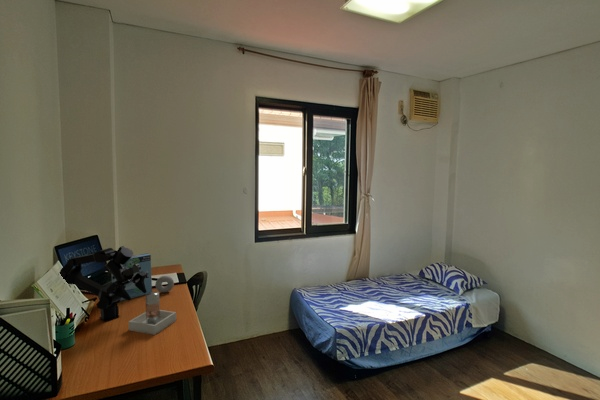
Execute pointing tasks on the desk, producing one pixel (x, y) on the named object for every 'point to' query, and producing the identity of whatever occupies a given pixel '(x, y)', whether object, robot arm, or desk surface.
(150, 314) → the tin
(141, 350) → the desk surface
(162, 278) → the donut
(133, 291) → the gum box
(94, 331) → the desk surface
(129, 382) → the desk surface
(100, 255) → the robot arm
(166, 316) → the tray
